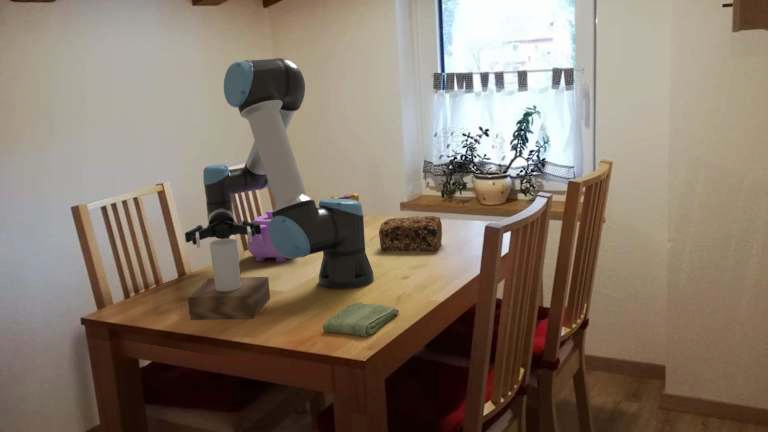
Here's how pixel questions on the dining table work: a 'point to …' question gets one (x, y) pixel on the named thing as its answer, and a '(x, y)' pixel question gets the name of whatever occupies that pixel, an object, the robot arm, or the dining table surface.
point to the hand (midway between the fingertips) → (224, 239)
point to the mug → (225, 264)
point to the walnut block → (229, 300)
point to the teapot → (263, 240)
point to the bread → (411, 234)
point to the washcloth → (359, 319)
